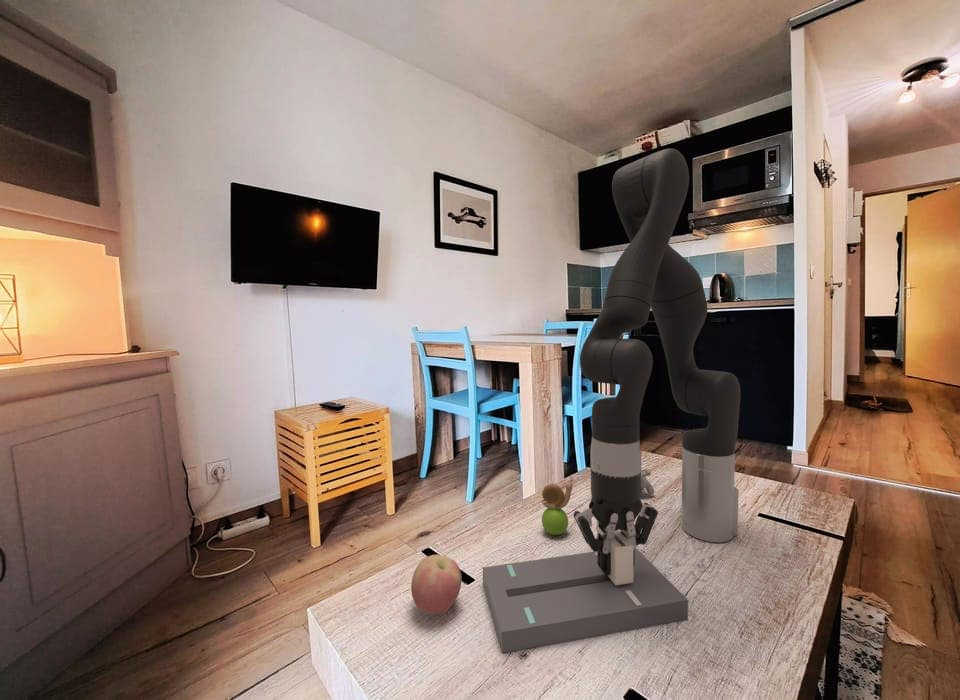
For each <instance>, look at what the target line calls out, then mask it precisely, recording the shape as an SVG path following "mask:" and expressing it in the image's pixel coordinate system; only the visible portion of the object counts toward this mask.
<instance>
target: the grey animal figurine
mask: <svg viewBox="0 0 960 700" xmlns="http://www.w3.org/2000/svg"><path fill="white" fill-rule="evenodd" d="M651 474H652V472H651V471H650V469H648V468H644V469H641V490H644V489H645V490H646V492H647V494H648V495H649V496H651V497H652V496H654V494H655V488H653V486H652V484H651V482H650V481H649V480H648V478H647V477H649V476H651Z"/></svg>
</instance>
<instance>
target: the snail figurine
mask: <svg viewBox="0 0 960 700" xmlns="http://www.w3.org/2000/svg"><path fill="white" fill-rule="evenodd" d="M569 481H570V482H567V483H566V484H565V493H564V490H563V489H562V487H560V486H559V485H557V484H548V485H546V486H544V488H543V489H542V493H541V495H542V498H543V500H544V501H542V502H541V503H542V505H543V506H544V507H545V508H546V509H545V510H544V511H543V513H542V515H541V526H542V527H543V528H544V530H545V531H546V532H547V533H548V534H550V535H552V536H559V535H562V534H564V533H565V532H566V531H567V529H568V526H569V517H568V515H567V513H566V511H565V510H563V509H564V508H565V507H566V506H567V505H568V504H569V502H570V498H571V495H572V490H573V487H574V486H573V483H572V482H573V477H569Z"/></svg>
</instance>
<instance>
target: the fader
mask: <svg viewBox="0 0 960 700" xmlns="http://www.w3.org/2000/svg"><path fill="white" fill-rule="evenodd" d="M609 552H610V553H611V575H608V576H609V578H610V579H611V580H612V582H613V583H614V584H615V585H621V584H627V583H633V545H632V544H631V543H630V542H629V541H628V540H627V539H626V537H625V536H624V535H623V534H621V533H620V530H616V531H615V533H614V539H613V540H612V541H611V546H610V551H609Z"/></svg>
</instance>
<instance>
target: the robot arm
mask: <svg viewBox="0 0 960 700" xmlns="http://www.w3.org/2000/svg"><path fill="white" fill-rule="evenodd" d="M689 172H690V171H689V167H688V163H687V160H686V159H685V157H684V155H683V154H682V153H681V152H680V151H679V150H677V149H675V148H665V149H662V150H658V151H656V152H653V153H651V154H649V155H646V156H644V157H642V158H639V159H636V160H635V161H633V162H630V163H628V164H626V165H624V166H622V167H620V168H618V169H617V170H616V171H615V173H614V175H613V177H612V182H611V191H612V198H613V202H614V205H615V207H616V211H617V214H618V217H619V219H620V222H621V224H622V225H623V228H624V231H625V232H626V236H627V237H628V240H629V242H630V243H629V244H628V245H627V247H626V248H624V251H623V252H622V253H621V255H620V256H619V258H618V260H617V261H616V263H615V265H614V266H613V268H612V270H611V272H610V275H609V279H608V282H607V287H606V291H605V296H604V300H603V304H602V305H603V306H602V309H601V311H600V313H599V315H597V316H598V317H597V318H596V320H595V322H594V324H593V326H592V328H591V330H590V332H589V333H588V335H587V337H586V338H585V341H584V342H583V345H582V347H581V350H580V355H579V365H580V371H581V373H582V375H583V376H584V377H585V379H587V380H588V381H590V382H594V383H600V384H607V385H608V384H610V385H611V384H612V385H619V389H618V392H617V394H616V396H612V397H603V398H599V399H597V400H595V401H594V402H593V404H592V407H591V444H590V495H591V499H590V502H589V503H588V508H587V509H584V511H582V512H580V511H579V510H576V511H574V512H573V518H574V519H575V522H576V524H577V527H578V528H579V531H580V532H581V535H582V537H583V540H584V541H585V543H586V544H587V546H589V547H590V549H591V550H592V552H596V551H597V564H598V566H599V568H600V569H601V570H602V572H604V573H605V575H611V553H610V552H609V551H610V546H611V541H612V540H613V539H614V533H615V531H616V530H619V531H620V533H621V534H623V535H624V536H625V537H626V539H627V540H628V541H629V542H630V543H631V544H632V545H633V567H634V564H635V549H636V548H637V547H638V546H639V545H645V544H647V541H648V540H649V537H650V534H651V531H652V528H653V526H654V524H655V521H656V520H657V517H658V514H659V512H658V510H657V509H656V508H654V507H653V505H651V504H650V503H648V502H642V500H641V497H642V489H641V470H642V449H641V443H640V439H641V438H640V433H641V432H640V431H641V430H640V417H641V415H640V414H641V410H642V409H641V408H642V404H643V401H644V397H645V393H646V389H647V386H648V383H649V380H650V378H651V374H652V370H653V362H654V359H653V358H654V357H653V355H652V352H651V350H650V347H649V346H648V345H647V344H646V342H645V341H643V340H641V339H638V338H621V336H622V335H623V334H625V333H627V332H630V331H633V330H634V331H635V330H637V329H640V328H643V327H644V326H645V325H647V323H648V320H649V317H650V312H651V311H652V315H653V317H654V321H655V323H656V327H657V328H658V333H659V337H660V341H661V344H662V347H663V350H664V355H665V356H664V357H665V360H666V365H667V371H668V376H669V382H670V387H671V391H672V396H673V399H674V401H675V403H676V405H677V407H678V408H679V409H680V410H682V412H685V413H688V414H689V413H690V414H693V415H697V416H703V417H708V422H707V426H706V427H703V428H694V429H689V430H687V431H685V432H683V434H682V441H681V442H682V445H681V452H682V453H681V519H680V520H681V528H682V529H683V531H684V532H685V533H687V534H688V535H689V536H691V537H693V538H695V539H698V540H702V541H706V542H710V543H726V542H730V541H732V540H733V538H734V537H736V536H738V534H739V533H738V531H739V530H738V529H739V489H738V488H737V487H735V469H736V467H735V465H736V462H735V461H736V460H735V459H736V458H735V457H736V445H737V444H736V443H737V440H738V439H737V438H738V434H739V433H738V432H739V418H740V410H741V409H740V407H741V394H742V393H741V385H740V382H739V379H738V378H737V376H736V375H735V374H733V373H732V372H728V371H718V370H712V369H710V370H709V369H700V368H699V367H698V366H697V364H696V361H695V355H694V346H695V342H696V340H697V338H698V335H699V333H700V332H701V329H702V327H703V326H704V323H705V321H706V318H707V316H708V315H707V314H708V308H709V307H708V301H707V297H706V294H705V293H706V292H705V290H704V285H703V281H702V278H701V276H700V274H699V272H698V271H697V270H696V268H695V267H694V266H693V265H692V264H691V263H690V262H689V261H688V260H687V259H686V258H685V257H683V256H682V255H681V254H680V253H679V252H678V251H677V250H675V249H674V248H673V247H672V246H671V245H670V244H669V243H670V240H671V237H672V235H673V234H674V230H675V228H676V225H677V222H678V220H679V217H680V215H681V211H682V209H683V206H684V204H685V201H686V198H687V194H688V191H689V186H690V185H689V184H690V173H689ZM593 517H594V518H595V520H596V524H595V525H596V527H595V529H596V536H595V535H594V533H593V530H592V528H591V527H592V526H593V522H592V521H593V520H592V519H593Z"/></svg>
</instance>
